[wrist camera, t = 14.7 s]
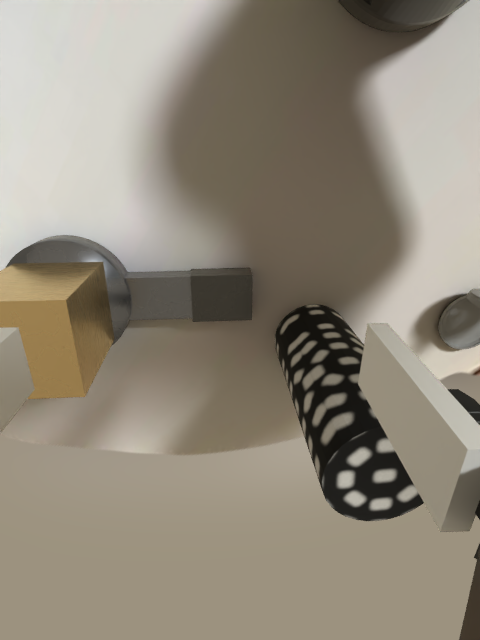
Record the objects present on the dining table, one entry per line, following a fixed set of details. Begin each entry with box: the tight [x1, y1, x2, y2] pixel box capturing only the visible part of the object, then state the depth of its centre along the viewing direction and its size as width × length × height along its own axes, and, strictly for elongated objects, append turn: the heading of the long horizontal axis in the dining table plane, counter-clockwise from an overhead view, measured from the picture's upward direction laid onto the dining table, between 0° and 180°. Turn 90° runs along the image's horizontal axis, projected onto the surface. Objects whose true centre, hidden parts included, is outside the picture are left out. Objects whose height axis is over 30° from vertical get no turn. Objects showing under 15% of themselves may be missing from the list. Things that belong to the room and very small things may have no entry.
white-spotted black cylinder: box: [275, 305, 424, 521], centre depth 34 cm, size 8×8×20 cm
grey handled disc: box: [6, 235, 252, 346], centre depth 36 cm, size 24×12×8 cm, turn 90°
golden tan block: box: [0, 262, 115, 399], centre depth 32 cm, size 8×8×10 cm
